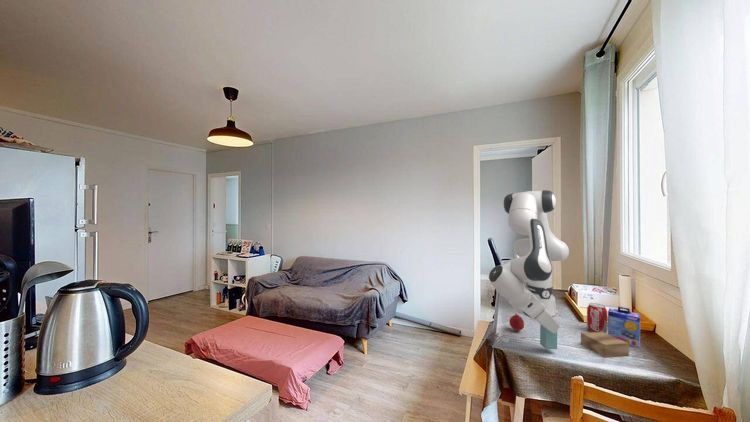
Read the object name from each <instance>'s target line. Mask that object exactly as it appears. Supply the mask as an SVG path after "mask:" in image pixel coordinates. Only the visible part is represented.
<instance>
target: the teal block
mask: <svg viewBox="0 0 750 422" xmlns="http://www.w3.org/2000/svg"><path fill="white" fill-rule="evenodd" d="M539 327H540V329H539V345H541V346H542V347H543V348H544V349H545V350H558V331H557V332H556V333H555V334H554V333H551V332H550V331H549V330H547V329H546V328H545V327H543V326H542V325H541V324H539Z"/></svg>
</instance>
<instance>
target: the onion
mask: <svg viewBox="0 0 750 422" xmlns="http://www.w3.org/2000/svg"><path fill="white" fill-rule="evenodd" d="M509 326H510V327H511V328H512V329H513V330H514V331H515V332H519V331H521V330H523V329H524V328H525V322H524V319H523V317H521V316H520V315H519V314H518V312H517V313H516V312H515V313H514V315H512V316H511V317H510V319H509Z"/></svg>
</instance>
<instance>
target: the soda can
mask: <svg viewBox="0 0 750 422" xmlns="http://www.w3.org/2000/svg"><path fill="white" fill-rule="evenodd" d="M586 309H587V310H586V327H587V330H588V331H590V332H604V333H607V334H608V310H607V308H606V305H603V304H601V303H596V302H589V303H588V305H587V307H586Z"/></svg>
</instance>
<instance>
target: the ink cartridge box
mask: <svg viewBox="0 0 750 422" xmlns="http://www.w3.org/2000/svg"><path fill="white" fill-rule="evenodd" d="M607 334H609V335H611V336H613V337H615V338H618V339H620V340H622V341H624V342H627V343H629V346H632V347H636V348H640V347H641V314H640V313H637V312H636V313H635V312H633V311H630V308H627V307H623V306H622V307H621V306H617V309H616V308H610V307H609V309H608V310H607Z"/></svg>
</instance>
